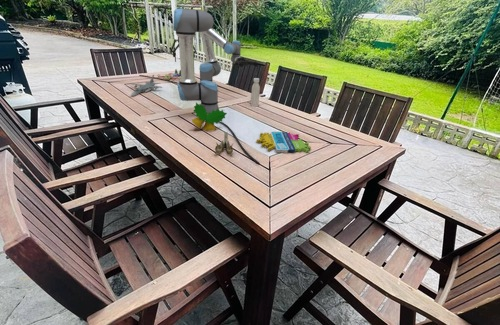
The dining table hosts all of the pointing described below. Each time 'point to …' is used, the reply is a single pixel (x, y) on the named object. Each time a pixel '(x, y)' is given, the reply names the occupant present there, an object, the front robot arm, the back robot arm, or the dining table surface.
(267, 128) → the dining table surface
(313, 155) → the dining table surface
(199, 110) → the ornament
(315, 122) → the dining table surface
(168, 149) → the dining table surface
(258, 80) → the cap
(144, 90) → the airplane
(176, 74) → the toy
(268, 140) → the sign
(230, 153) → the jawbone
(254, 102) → the bottle
